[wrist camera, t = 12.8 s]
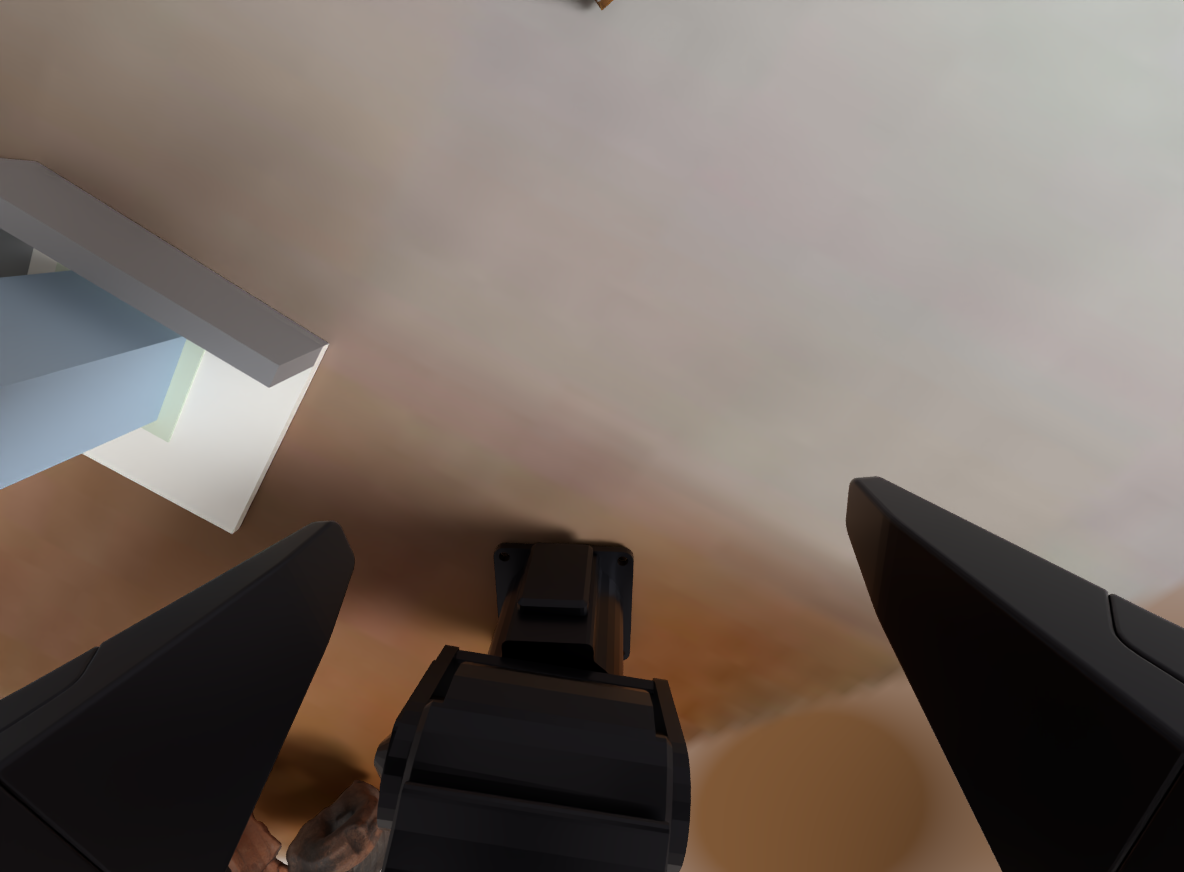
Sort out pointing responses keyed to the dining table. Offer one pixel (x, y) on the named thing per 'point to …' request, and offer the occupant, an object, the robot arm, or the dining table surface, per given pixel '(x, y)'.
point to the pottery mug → (321, 839)
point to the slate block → (74, 370)
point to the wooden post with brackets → (603, 3)
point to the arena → (209, 357)
